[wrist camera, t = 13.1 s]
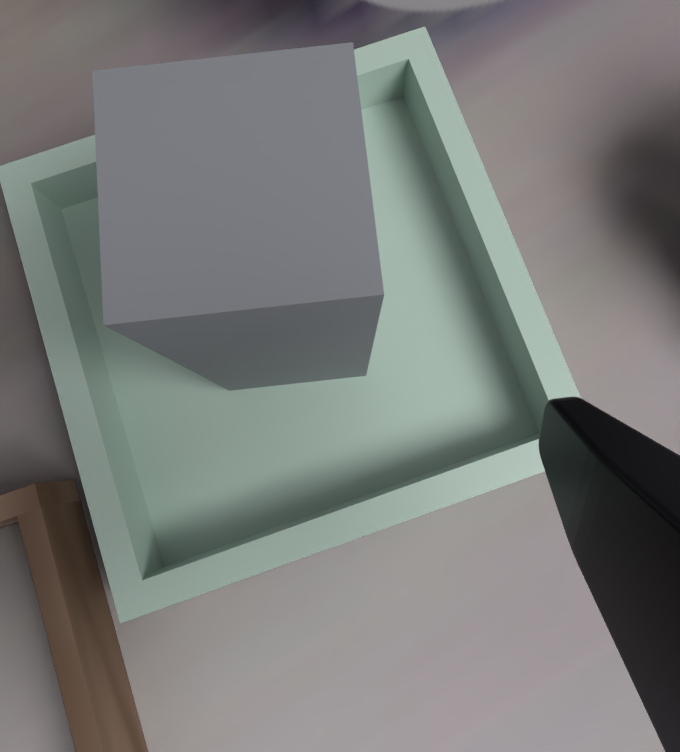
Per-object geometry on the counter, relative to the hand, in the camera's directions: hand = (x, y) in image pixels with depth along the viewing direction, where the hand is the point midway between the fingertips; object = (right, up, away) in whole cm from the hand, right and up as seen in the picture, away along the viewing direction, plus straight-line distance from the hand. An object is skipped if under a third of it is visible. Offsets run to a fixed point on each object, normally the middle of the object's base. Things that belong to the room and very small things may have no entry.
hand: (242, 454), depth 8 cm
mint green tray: (0, +3, +12) cm, 13 cm away
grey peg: (0, +3, +12) cm, 12 cm away
